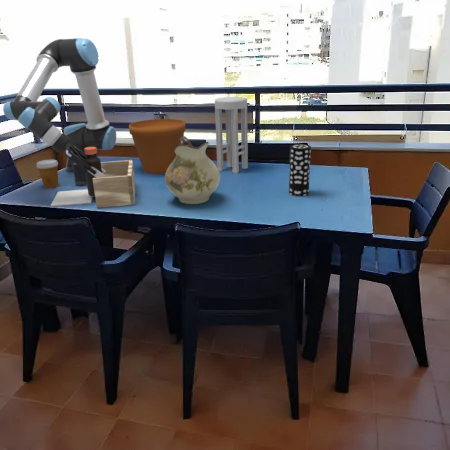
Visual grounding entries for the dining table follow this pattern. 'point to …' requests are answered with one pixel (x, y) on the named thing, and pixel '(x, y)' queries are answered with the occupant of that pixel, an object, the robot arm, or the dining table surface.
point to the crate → (115, 184)
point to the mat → (72, 197)
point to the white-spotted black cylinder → (299, 169)
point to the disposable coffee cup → (48, 173)
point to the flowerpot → (156, 142)
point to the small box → (79, 175)
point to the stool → (231, 132)
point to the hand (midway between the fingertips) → (102, 175)
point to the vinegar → (94, 162)
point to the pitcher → (192, 173)
